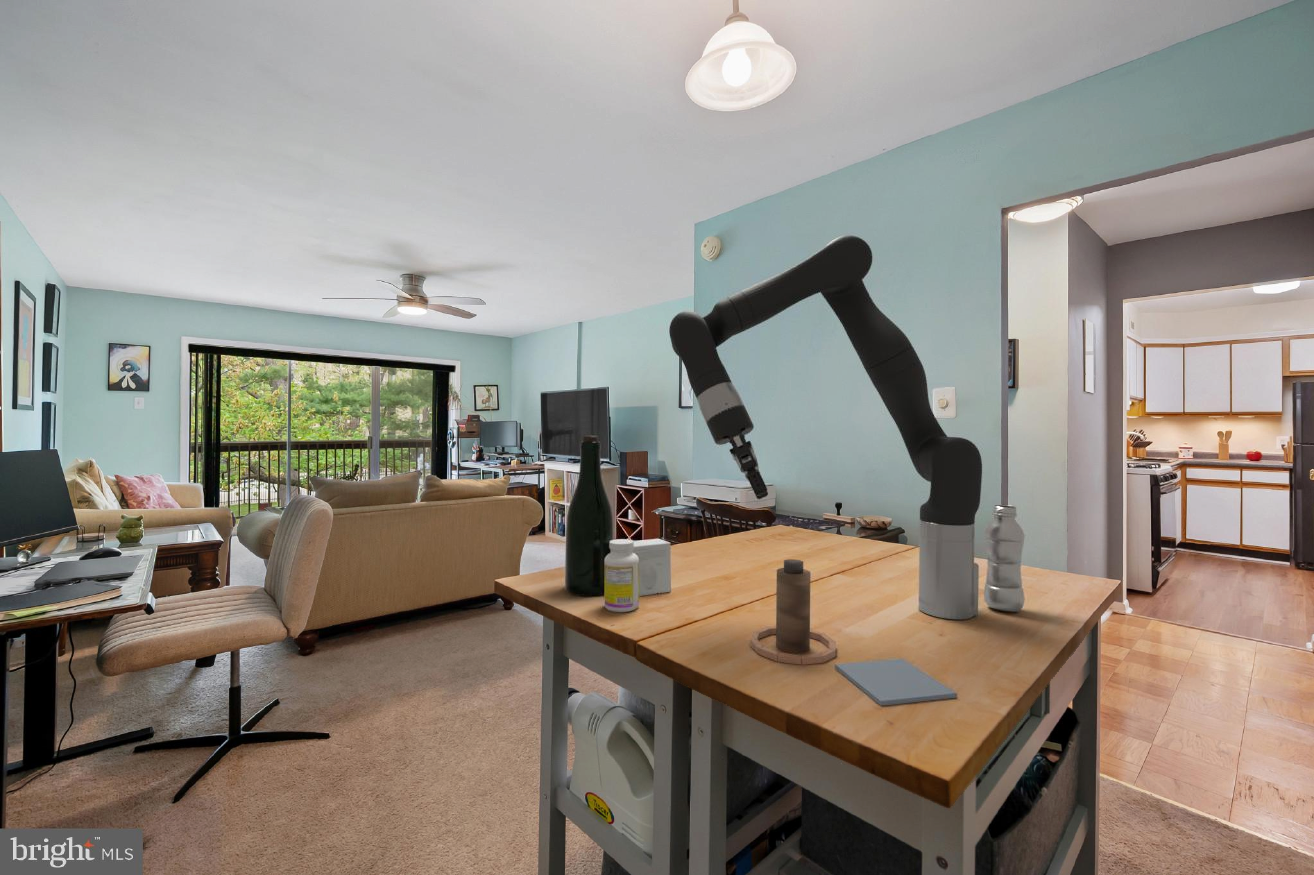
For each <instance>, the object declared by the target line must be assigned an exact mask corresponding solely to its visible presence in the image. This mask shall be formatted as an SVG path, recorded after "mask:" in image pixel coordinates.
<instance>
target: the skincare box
mask: <svg viewBox="0 0 1314 875" xmlns="http://www.w3.org/2000/svg"><path fill="white" fill-rule="evenodd" d="M633 541H634V548H633V553H635V554H636V555H637V556H638V558H639V597H643V596H652V595H657V593H658V594H664V593H670V592H672V572H671V571H672V569H671V568H672V565H671V564H672V563H671V560H672V559H671V544H672V543H671V542H669V541H666V540H663V539H661V538H652V539H643V540H641V539H640V540H633Z"/></svg>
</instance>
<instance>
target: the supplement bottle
mask: <svg viewBox="0 0 1314 875" xmlns="http://www.w3.org/2000/svg"><path fill="white" fill-rule="evenodd" d="M634 541H635V540H633V539H628V538H626V539H625V538H620V539H619V538H618V539H614V540H611V541H610V542H609V548H610V550H611V553H610V554H608V555H607V556H606V557H605V560H604V594H603V595H604V607H605V608H606V610H608V611H609V612H614V613H628V612H632V611H635V610H636V609H638V607H639V606H640V596H639V558H638V556H637V555H636V554H635V553H633V548H634Z"/></svg>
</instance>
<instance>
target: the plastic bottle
mask: <svg viewBox="0 0 1314 875" xmlns="http://www.w3.org/2000/svg"><path fill="white" fill-rule="evenodd" d="M992 510H993V511H992V516H994V517H993V519H991V521H990V522H989V523H988V524H987V525H986V526H985V528H984V531H983V532H984V533H983V535H984V542H985V543H984V544H985V548H986V557H987V558H986V559H987V562H986V563H987V569H986V579H985V581H986V582H985V583H984V588H983V593H982V594H983V599H984V602H985V604H986V605H987V606H988V607H989V608H992V609H995V610H998V611H1001V612H1002V611H1003V612H1020V611H1021V610H1022V609H1023V607H1024V605H1025V592H1024V588H1023V583H1022V572H1021V571H1022V570H1021V569H1022V568H1021V567H1022V565H1021V564H1022V553H1023V549H1024V543H1025V532H1024V530H1023V528H1022V527H1021V526H1020V524H1019V523H1018V522H1017V520H1016V518H1017V517H1018V514H1017V506H1014V505H1005V504H1004V505H1003V504H994V505H993V509H992Z"/></svg>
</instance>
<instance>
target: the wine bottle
mask: <svg viewBox="0 0 1314 875" xmlns="http://www.w3.org/2000/svg"><path fill="white" fill-rule="evenodd" d="M601 449H602V446H601V442H600V441H599V436H598V435H593V434H592V435H583V436H582V441H580V444H579V450H580V454H579V455H580V458H579V460H580V461H579V473H578V479H577V483H576V486H575V490H574V492H573V494H572V497H571V500H570V503H569V506H568V511H567V513H566V526H565V527H566V528H565V560H564V562H565V563H564V567H565V568H564V585H565V586H564V587H565V589H566V591H567V592H569V593H570V594H572V595H576V596H587V597H589V596H591V597H592V596H598V595H599V596H600V595H604V560H605V557H606V556H607V555H608V554H610V553H611V550H610V548H609V542H610V541H611V540H615V531H614V515H613V509H612V508H613V507H612V505H611V502H610V499H609V497H608V493H607V492H606V488H605V485H604V482H603V478H602V469H601V468H602V467H601V466H602V464H601Z"/></svg>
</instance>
